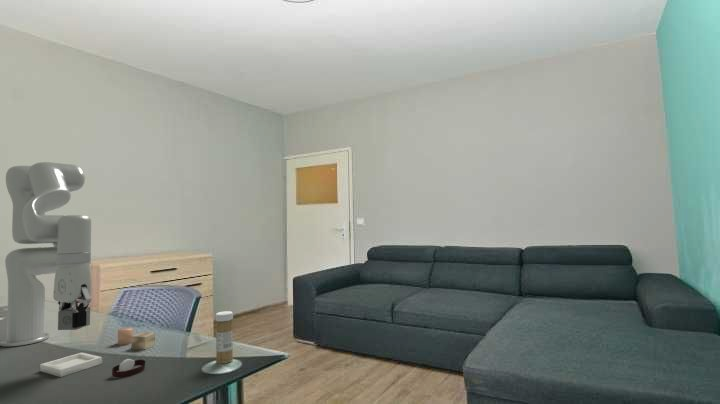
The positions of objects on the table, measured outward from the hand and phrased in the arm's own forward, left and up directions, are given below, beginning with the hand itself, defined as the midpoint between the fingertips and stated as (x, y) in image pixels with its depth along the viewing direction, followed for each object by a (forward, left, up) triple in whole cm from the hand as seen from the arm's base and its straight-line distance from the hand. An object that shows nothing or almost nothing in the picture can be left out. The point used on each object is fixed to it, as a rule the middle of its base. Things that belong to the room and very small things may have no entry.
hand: (72, 325), depth 103 cm
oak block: (+2, +19, -12) cm, 22 cm away
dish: (0, 0, -11) cm, 11 cm away
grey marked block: (0, 0, -1) cm, 1 cm away
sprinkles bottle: (+36, +20, -12) cm, 43 cm away
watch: (+19, +4, -12) cm, 23 cm away
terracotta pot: (-8, +20, -11) cm, 24 cm away
